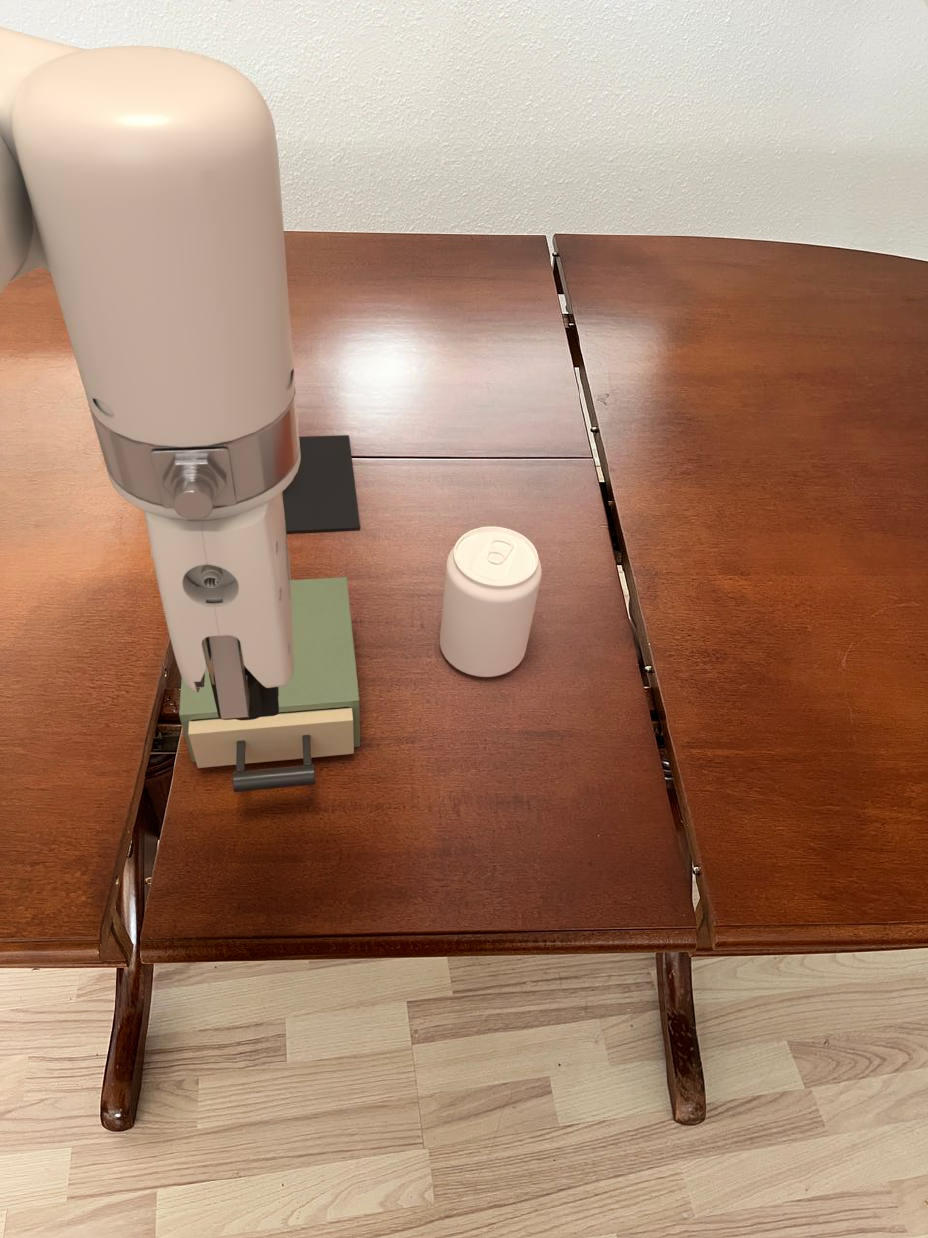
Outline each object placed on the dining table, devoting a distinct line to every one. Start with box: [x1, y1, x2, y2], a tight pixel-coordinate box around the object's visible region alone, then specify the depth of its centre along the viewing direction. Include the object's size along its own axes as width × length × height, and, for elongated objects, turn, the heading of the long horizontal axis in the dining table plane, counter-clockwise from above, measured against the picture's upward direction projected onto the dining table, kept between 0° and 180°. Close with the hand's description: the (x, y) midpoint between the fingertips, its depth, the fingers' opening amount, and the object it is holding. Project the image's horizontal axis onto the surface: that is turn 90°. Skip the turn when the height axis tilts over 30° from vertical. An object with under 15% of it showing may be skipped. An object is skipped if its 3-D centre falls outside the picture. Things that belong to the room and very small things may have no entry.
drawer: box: [188, 707, 355, 793], centre depth 70 cm, size 17×12×5 cm
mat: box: [282, 434, 361, 535], centre depth 93 cm, size 20×16×1 cm
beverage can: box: [439, 525, 543, 678], centre depth 76 cm, size 8×8×12 cm
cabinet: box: [178, 576, 361, 763], centre depth 73 cm, size 14×14×7 cm
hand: (249, 705), depth 47 cm, fingers closed
